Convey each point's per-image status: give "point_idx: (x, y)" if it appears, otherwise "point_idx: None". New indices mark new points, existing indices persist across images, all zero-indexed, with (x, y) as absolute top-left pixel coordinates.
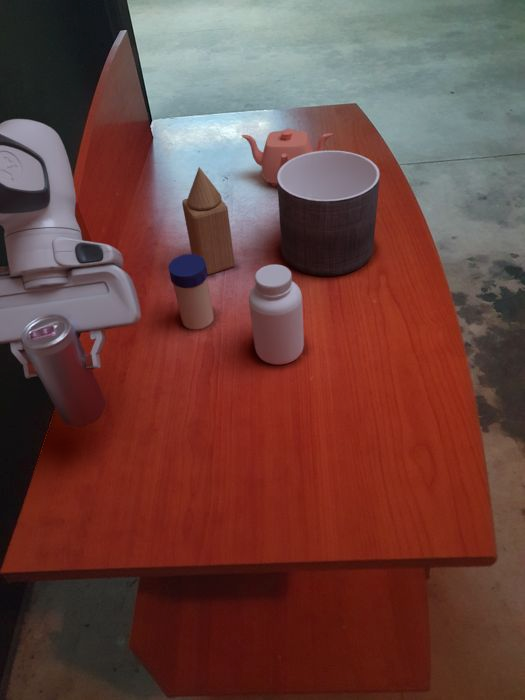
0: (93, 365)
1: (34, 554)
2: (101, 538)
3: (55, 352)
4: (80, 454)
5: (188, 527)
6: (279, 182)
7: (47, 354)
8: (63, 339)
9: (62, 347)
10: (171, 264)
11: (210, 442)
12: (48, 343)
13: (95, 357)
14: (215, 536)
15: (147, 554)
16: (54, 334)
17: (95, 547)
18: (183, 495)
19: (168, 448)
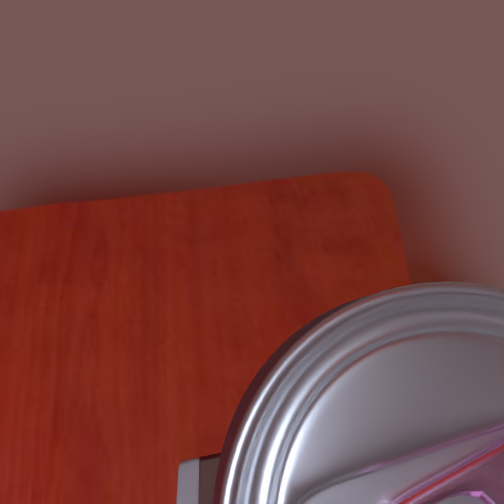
0: (196, 461)
1: (352, 191)
2: (245, 224)
3: (308, 324)
4: None
5: (98, 252)
6: None
7: (361, 298)
8: (246, 411)
9: (264, 371)
10: None
11: (58, 448)
12: (372, 353)
13: (178, 502)
14: (53, 240)
15: (162, 205)
16: (375, 501)
17: (251, 209)
18: (111, 312)
19: (151, 427)
